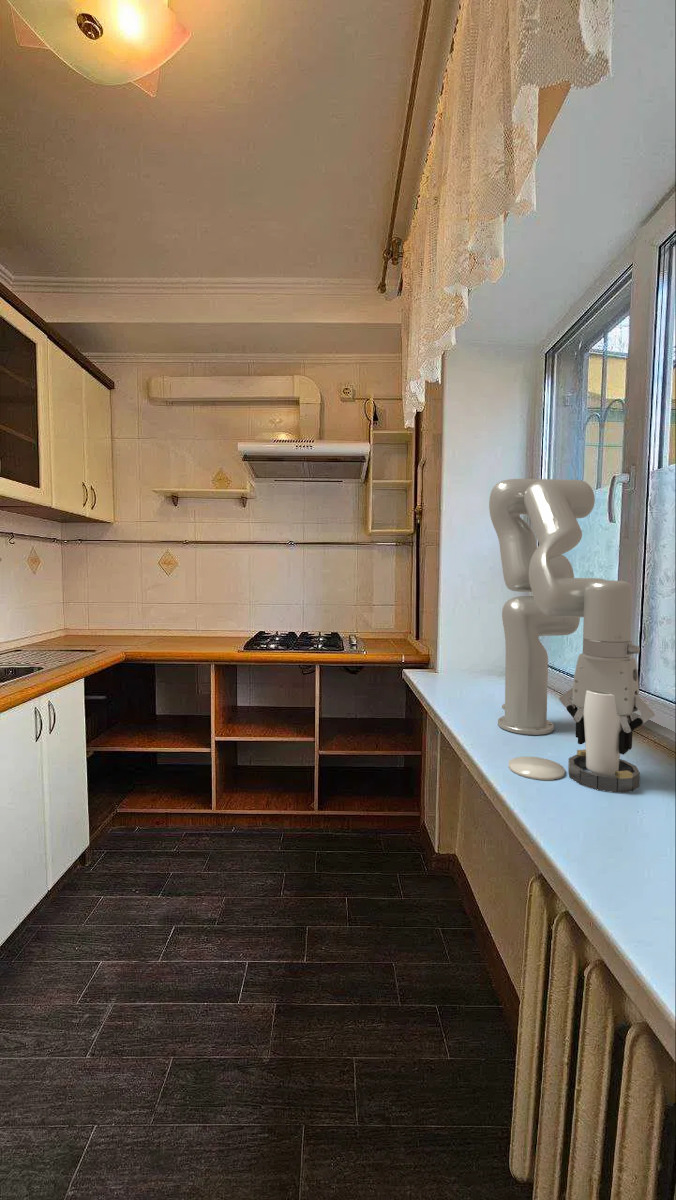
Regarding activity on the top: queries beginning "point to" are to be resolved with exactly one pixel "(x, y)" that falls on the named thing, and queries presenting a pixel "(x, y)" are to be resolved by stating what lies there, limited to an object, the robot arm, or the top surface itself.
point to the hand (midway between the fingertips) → (602, 746)
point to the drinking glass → (601, 733)
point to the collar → (622, 782)
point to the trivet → (536, 768)
